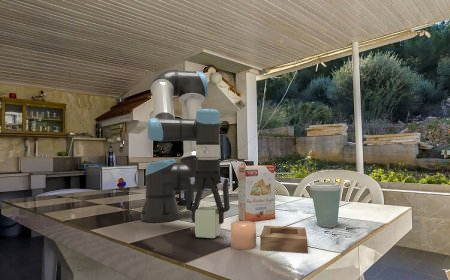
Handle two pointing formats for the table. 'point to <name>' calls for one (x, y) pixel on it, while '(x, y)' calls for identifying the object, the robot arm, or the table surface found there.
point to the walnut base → (284, 239)
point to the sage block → (206, 222)
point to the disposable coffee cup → (326, 202)
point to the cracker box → (256, 193)
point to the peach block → (243, 235)
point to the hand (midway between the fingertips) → (207, 233)
